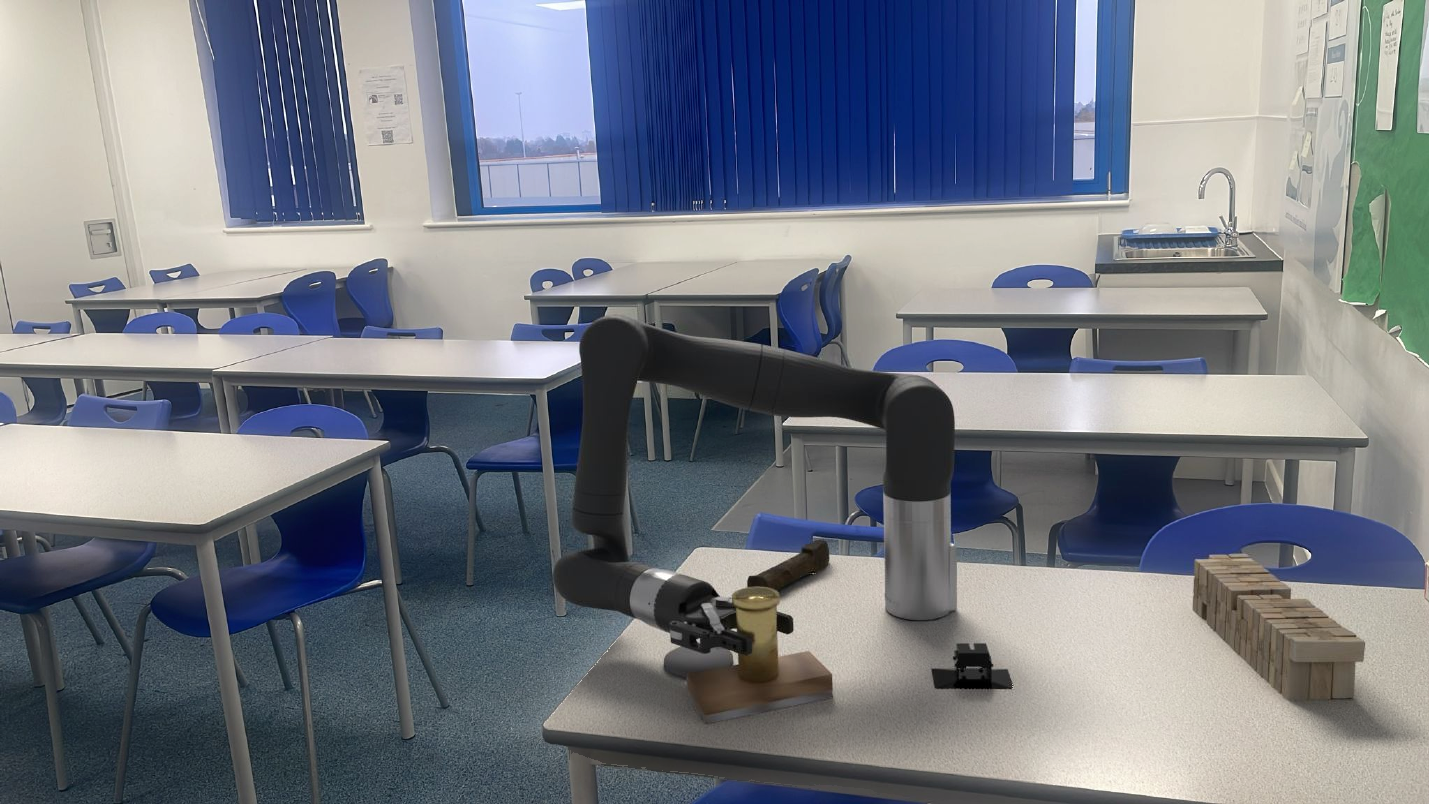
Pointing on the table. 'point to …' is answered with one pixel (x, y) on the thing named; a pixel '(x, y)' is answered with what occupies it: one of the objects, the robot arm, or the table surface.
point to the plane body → (758, 688)
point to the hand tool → (793, 567)
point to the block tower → (1276, 629)
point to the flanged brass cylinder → (758, 632)
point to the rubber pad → (695, 661)
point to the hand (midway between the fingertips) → (771, 636)
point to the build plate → (971, 670)
